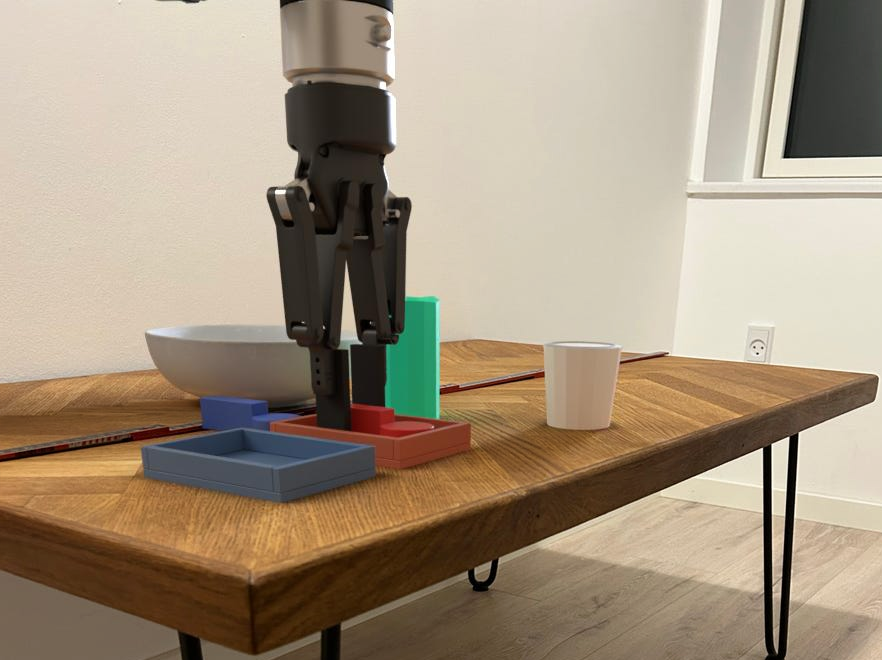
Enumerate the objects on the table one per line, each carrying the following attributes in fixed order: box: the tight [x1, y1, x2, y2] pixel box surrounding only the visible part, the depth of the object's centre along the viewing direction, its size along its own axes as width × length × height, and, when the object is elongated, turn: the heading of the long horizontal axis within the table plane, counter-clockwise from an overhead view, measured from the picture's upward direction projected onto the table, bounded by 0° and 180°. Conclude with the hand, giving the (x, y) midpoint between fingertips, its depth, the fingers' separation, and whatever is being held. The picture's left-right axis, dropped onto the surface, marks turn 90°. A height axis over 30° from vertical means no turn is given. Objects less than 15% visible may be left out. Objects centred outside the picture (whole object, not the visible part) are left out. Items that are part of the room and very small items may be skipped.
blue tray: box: [140, 428, 377, 504], centre depth 63 cm, size 12×9×2 cm
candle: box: [385, 286, 440, 419], centre depth 84 cm, size 6×6×12 cm
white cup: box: [543, 340, 623, 431], centre depth 84 cm, size 7×7×7 cm
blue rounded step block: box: [199, 395, 302, 432], centre depth 78 cm, size 10×4×3 cm, turn 58°
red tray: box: [270, 413, 472, 470], centre depth 72 cm, size 12×9×2 cm
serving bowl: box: [144, 324, 362, 409], centre depth 94 cm, size 21×21×7 cm
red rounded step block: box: [350, 402, 434, 438], centre depth 72 cm, size 10×4×3 cm, turn 58°
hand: (352, 433), depth 73 cm, fingers open, 4 cm apart
